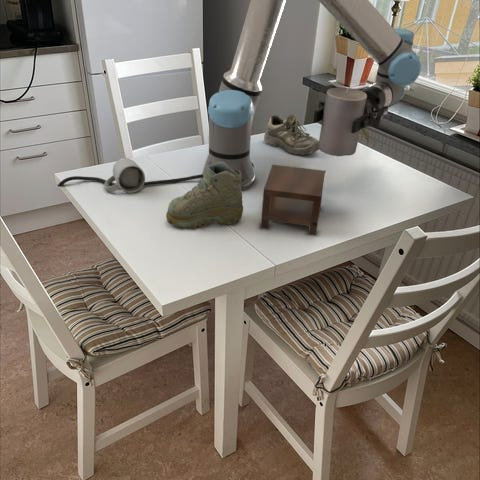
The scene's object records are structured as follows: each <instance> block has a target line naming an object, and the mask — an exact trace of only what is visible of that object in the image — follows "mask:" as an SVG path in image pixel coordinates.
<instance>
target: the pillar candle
mask: <svg viewBox="0 0 480 480" xmlns="http://www.w3.org/2000/svg"><path fill="white" fill-rule="evenodd" d="M366 99H367V95H366V93H364V92H362V91H361V89H357V88H353V87H348V86H347V87H341V86H340V87H331V88H329V89H327V90H326V96H325V100H326V101H325V107H324V113H323V119H322V120H321V125H320V131H319V138H318V140H319V144H318V148H319V150H318V151H320V152H321V153H324V154H325V155H330V156H331V157H346V156H347V157H348V156H353V155H355V154H356V151H357V147H358V143H359V138H360V135H361V129H360V130H359V131H357V132H356V133H351V131H352V125H353V121H354V120H356V119H358V118H360V117H361V116H363V114H364V109H365V104H366Z"/></svg>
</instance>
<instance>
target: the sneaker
mask: <svg viewBox="0 0 480 480" xmlns="http://www.w3.org/2000/svg"><path fill="white" fill-rule="evenodd" d="M241 179H242V176H241V173H240V171H239V170H232V169H231V168H230V167H229V166H228V165H227V164H226V163H224V162H217V163H215V164H213V165H207V167H206V172H205V176H204V178H200V181H199V182H198V183H197V184H196V185H194V186H193V187H192V188H191V190H189V191H187V192H186V193H184V194H183V195H182V196H181V195H180V196H178V197H175V198H173V199H172V200H171V201H170V202H169V203H168V206H167V210H166V213H165V217H166V221H167V223H169V224H171V225H172V226H174V227H176V228H180V229H182V228H184V229H190V228H191V229H195V228H202V227H204V226H205V227H206V226H207V225H209V224H210V223H212V222H216V223H217V224H218V225H222V226H223V225H226V226H228V225H235V224H237V223H239V221H240V220H241V219H242V217H243V213H244V205H243V201H244V200H243V192H242V190H241V185H240V182H241Z"/></svg>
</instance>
